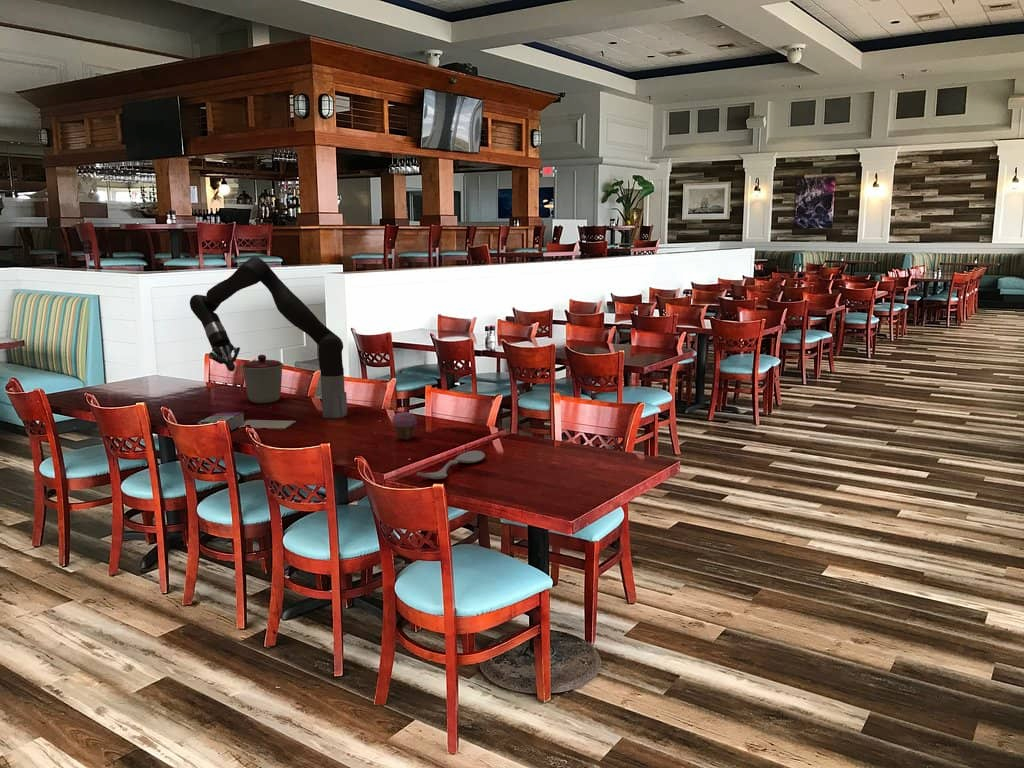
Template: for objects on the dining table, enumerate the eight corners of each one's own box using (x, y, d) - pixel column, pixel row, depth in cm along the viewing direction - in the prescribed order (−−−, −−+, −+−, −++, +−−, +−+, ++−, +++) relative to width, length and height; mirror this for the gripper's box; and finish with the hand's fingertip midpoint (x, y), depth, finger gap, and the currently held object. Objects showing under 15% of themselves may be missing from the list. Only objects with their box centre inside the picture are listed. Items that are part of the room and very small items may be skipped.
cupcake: (410, 442, 295) (409, 415, 293) (388, 440, 298) (387, 413, 296) (421, 436, 303) (420, 410, 301) (400, 434, 306) (399, 408, 304)
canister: (242, 406, 356) (238, 358, 352) (245, 398, 374) (241, 352, 370) (285, 404, 361) (282, 356, 357) (286, 396, 378) (283, 351, 374)
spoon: (415, 482, 249) (415, 471, 248) (466, 456, 277) (466, 446, 277) (441, 486, 245) (441, 475, 244) (490, 459, 273) (489, 449, 273)
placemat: (296, 421, 328) (296, 420, 328) (284, 429, 316) (284, 428, 316) (248, 420, 330) (248, 419, 330) (234, 427, 318) (234, 426, 318)
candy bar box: (218, 424, 325) (198, 434, 309) (216, 412, 324) (196, 421, 308) (245, 424, 324) (226, 433, 307) (243, 411, 323) (225, 420, 307)
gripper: (231, 338, 340) (246, 372, 334) (199, 343, 332) (214, 378, 326) (234, 327, 334) (250, 361, 328) (202, 332, 326) (217, 368, 320)
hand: (232, 370), depth 327 cm, fingers closed
